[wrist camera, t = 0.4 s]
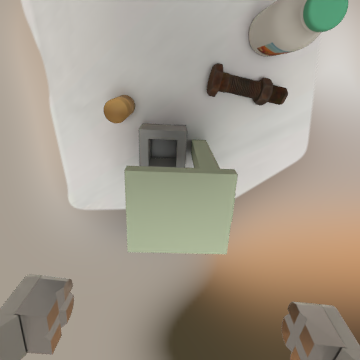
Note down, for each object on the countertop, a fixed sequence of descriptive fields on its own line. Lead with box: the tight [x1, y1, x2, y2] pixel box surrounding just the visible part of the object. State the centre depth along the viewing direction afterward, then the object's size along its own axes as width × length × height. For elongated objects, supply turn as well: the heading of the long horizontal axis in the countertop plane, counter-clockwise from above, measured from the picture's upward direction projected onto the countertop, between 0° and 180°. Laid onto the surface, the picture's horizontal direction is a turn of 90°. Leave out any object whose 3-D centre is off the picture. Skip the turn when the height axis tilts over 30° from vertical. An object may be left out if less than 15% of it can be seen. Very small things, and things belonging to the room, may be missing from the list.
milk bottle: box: [249, 0, 348, 56], centre depth 38 cm, size 8×8×20 cm
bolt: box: [207, 63, 288, 105], centre depth 49 cm, size 6×5×15 cm
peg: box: [104, 95, 135, 123], centre depth 47 cm, size 4×4×9 cm
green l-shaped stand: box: [125, 140, 238, 254], centre depth 41 cm, size 10×12×30 cm
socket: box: [139, 124, 187, 168], centre depth 52 cm, size 9×9×6 cm
